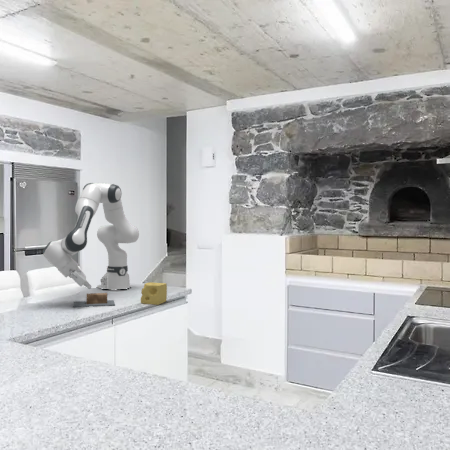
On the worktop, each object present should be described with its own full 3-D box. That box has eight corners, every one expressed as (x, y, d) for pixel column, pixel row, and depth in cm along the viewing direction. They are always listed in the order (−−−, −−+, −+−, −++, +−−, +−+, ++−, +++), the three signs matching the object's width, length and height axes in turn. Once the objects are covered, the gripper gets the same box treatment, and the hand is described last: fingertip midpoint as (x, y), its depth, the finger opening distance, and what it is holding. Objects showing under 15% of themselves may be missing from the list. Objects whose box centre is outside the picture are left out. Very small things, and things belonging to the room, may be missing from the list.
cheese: (140, 303, 236) (140, 284, 236) (149, 300, 247) (150, 281, 246) (159, 305, 233) (159, 285, 233) (167, 301, 244) (167, 282, 243)
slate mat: (72, 307, 224) (72, 306, 224) (73, 302, 236) (73, 301, 236) (114, 305, 230) (114, 304, 230) (113, 301, 242) (113, 300, 242)
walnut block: (86, 295, 230) (107, 294, 233) (86, 293, 234) (106, 292, 237) (86, 304, 230) (107, 303, 233) (86, 302, 234) (106, 301, 237)
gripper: (74, 266, 220) (95, 286, 223) (75, 262, 239) (94, 280, 242) (64, 276, 218) (85, 295, 222) (66, 271, 238) (85, 289, 241)
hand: (90, 287), depth 232 cm, fingers closed
